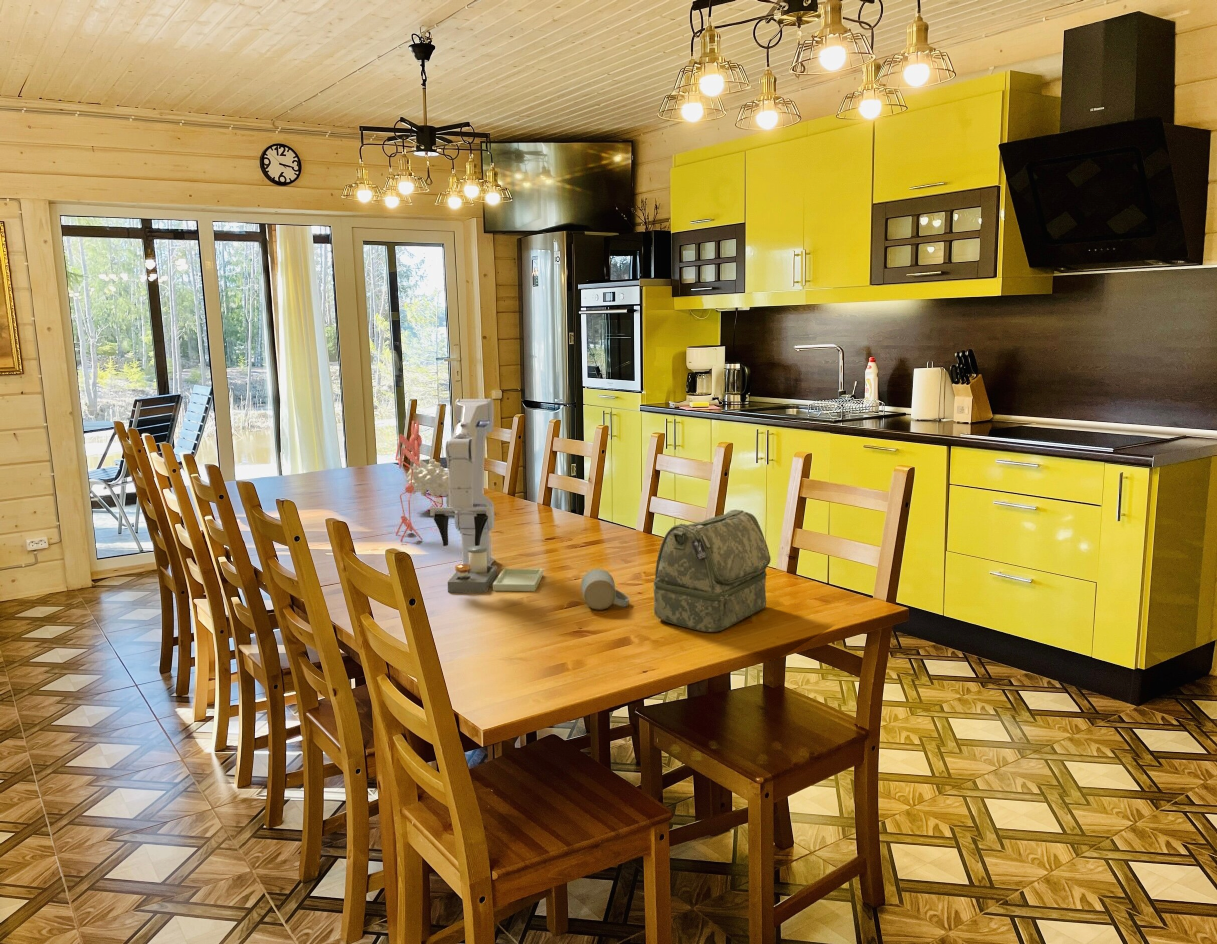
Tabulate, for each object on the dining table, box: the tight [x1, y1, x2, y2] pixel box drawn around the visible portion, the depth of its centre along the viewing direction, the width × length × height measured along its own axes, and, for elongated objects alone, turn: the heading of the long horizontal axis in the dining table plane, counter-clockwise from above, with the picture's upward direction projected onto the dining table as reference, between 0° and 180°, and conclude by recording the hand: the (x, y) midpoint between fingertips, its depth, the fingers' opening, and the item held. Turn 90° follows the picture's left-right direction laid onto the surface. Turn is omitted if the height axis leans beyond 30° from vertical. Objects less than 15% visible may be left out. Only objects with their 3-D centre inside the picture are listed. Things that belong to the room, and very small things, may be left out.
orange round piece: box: [454, 563, 471, 580], centre depth 216 cm, size 4×4×4 cm
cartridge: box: [468, 546, 487, 573], centre depth 223 cm, size 5×5×8 cm
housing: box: [447, 565, 498, 593], centre depth 220 cm, size 15×9×2 cm, turn 176°
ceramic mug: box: [580, 568, 630, 611], centre depth 201 cm, size 11×8×8 cm
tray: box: [492, 568, 544, 592], centre depth 220 cm, size 14×10×2 cm
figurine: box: [394, 420, 439, 546], centre depth 269 cm, size 15×26×35 cm, turn 22°
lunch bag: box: [653, 509, 772, 633], centre depth 192 cm, size 26×18×22 cm
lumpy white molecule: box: [406, 458, 449, 512], centre depth 310 cm, size 20×18×25 cm
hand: (461, 545), depth 214 cm, fingers open, 7 cm apart
